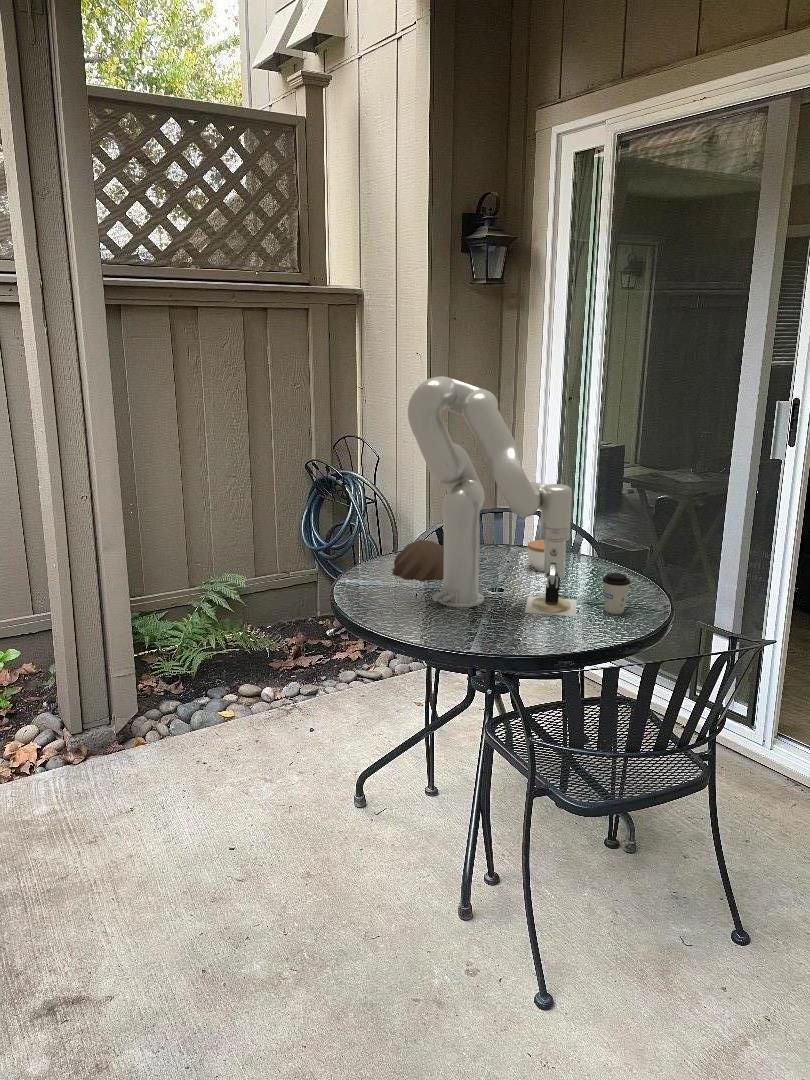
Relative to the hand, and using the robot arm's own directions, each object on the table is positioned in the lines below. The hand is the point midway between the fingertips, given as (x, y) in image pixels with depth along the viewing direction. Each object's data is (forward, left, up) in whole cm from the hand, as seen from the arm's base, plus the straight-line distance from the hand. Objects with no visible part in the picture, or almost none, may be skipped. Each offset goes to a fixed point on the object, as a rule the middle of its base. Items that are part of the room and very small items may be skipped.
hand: (552, 596), depth 205 cm
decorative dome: (+2, +46, -4) cm, 47 cm away
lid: (0, 0, -3) cm, 3 cm away
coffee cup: (+8, -14, -4) cm, 16 cm away
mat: (0, 0, -3) cm, 3 cm away
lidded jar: (+29, +21, -4) cm, 36 cm away
